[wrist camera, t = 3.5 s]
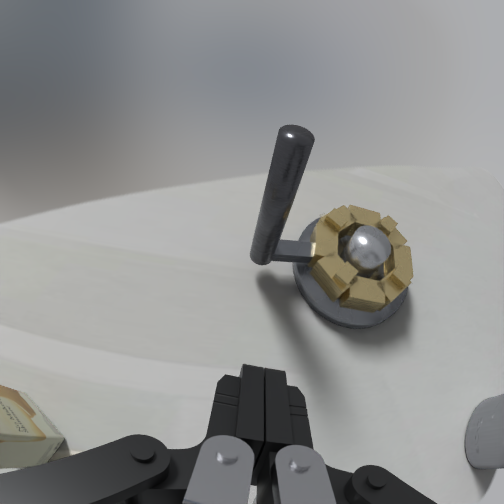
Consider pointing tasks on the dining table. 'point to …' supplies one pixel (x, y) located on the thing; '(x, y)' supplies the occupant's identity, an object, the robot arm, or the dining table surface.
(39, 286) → the dining table surface
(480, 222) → the dining table surface
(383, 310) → the flange
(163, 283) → the dining table surface
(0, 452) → the skincare box
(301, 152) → the lever crank
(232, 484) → the robot arm
